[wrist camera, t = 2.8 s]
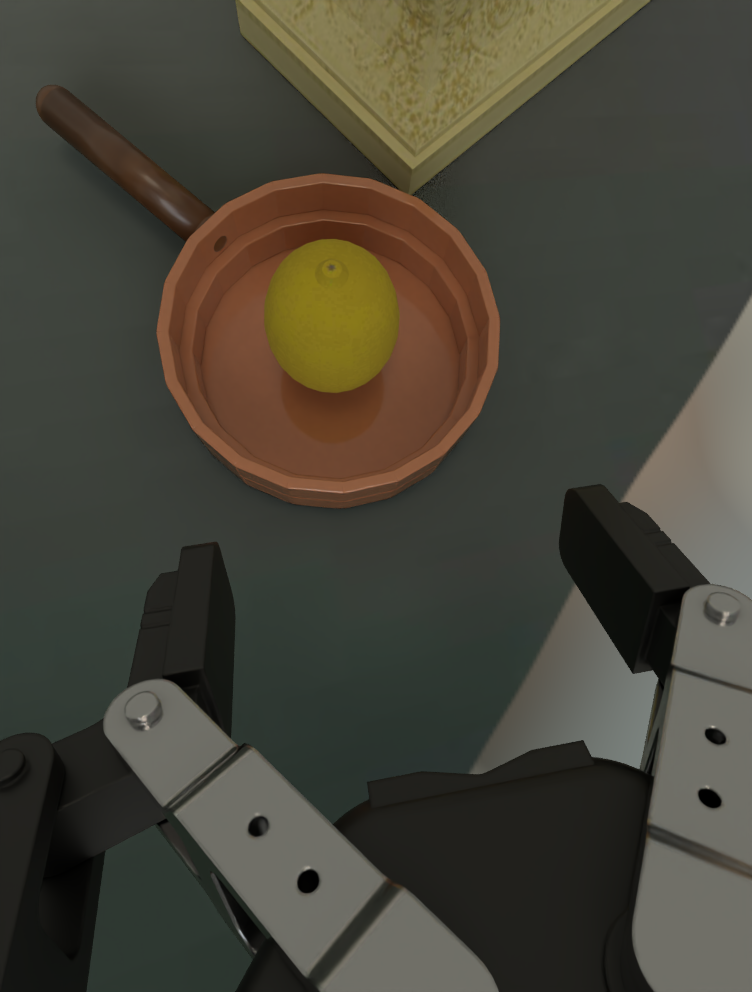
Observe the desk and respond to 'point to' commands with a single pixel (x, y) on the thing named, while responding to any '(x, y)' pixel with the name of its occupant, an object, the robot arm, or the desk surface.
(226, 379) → the pan
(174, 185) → the pan handle
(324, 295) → the lemon
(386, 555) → the desk surface
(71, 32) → the desk surface
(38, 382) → the desk surface
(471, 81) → the decorative clock
